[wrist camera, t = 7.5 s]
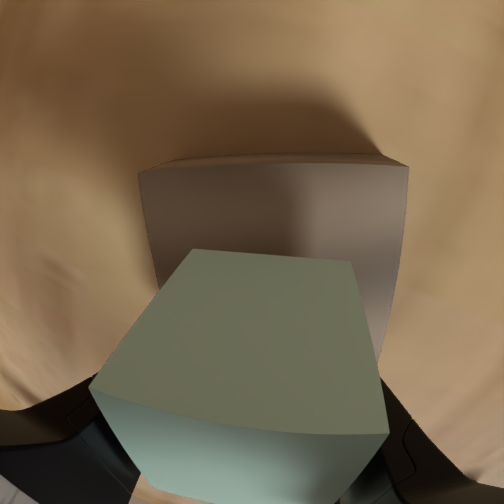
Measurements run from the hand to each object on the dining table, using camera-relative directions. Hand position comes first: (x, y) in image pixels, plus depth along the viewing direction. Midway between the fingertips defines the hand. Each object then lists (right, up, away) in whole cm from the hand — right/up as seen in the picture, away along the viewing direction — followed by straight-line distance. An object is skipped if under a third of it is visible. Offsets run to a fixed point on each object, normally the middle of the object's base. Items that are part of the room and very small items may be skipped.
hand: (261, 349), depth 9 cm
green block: (0, +1, +1) cm, 2 cm away
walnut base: (+1, +3, +7) cm, 7 cm away
